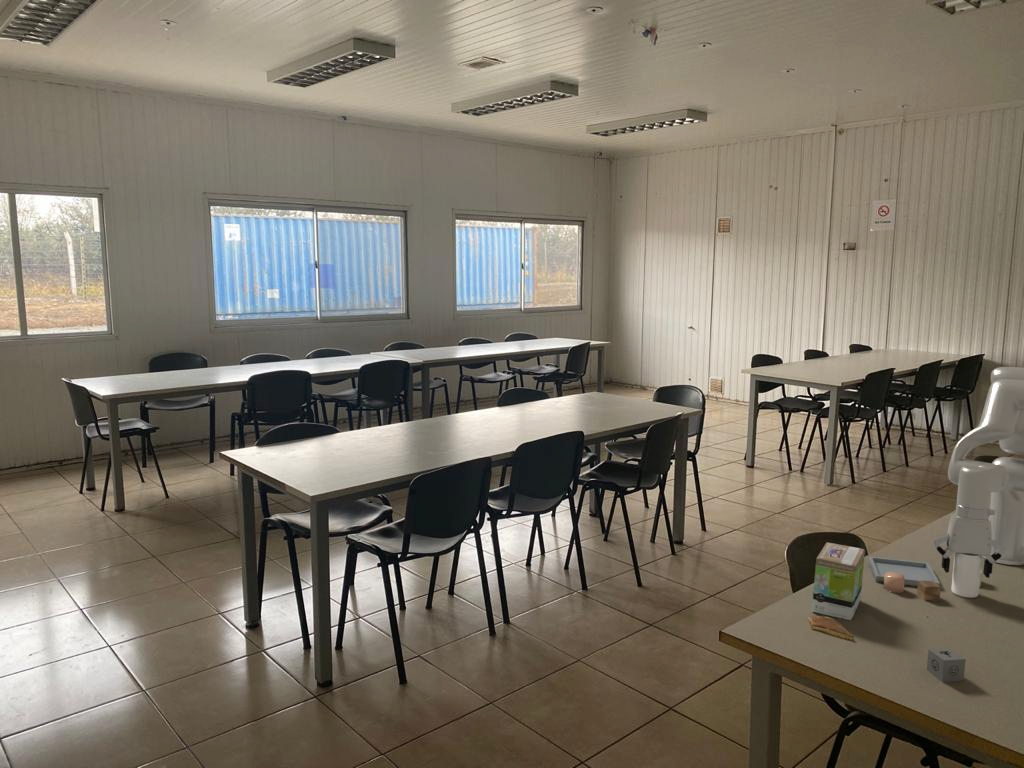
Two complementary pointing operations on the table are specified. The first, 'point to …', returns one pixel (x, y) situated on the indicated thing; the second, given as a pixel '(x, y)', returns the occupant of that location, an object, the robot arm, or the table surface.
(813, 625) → the toasted sandwich
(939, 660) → the dice cube
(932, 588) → the walnut block
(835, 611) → the tea box
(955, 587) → the can
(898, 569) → the tray
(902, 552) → the table surface
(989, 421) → the robot arm
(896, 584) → the brown egg
